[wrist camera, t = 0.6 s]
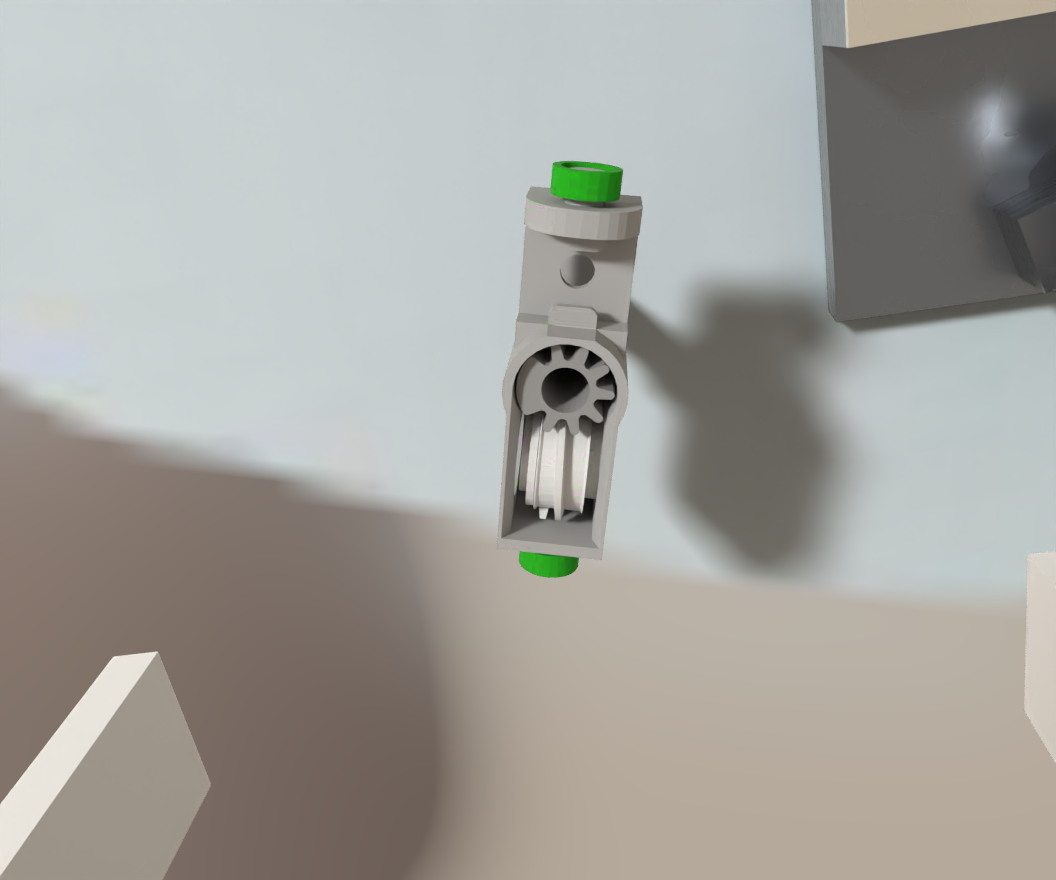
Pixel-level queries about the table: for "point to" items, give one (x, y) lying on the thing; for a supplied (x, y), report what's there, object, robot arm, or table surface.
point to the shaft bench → (936, 151)
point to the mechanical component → (567, 367)
